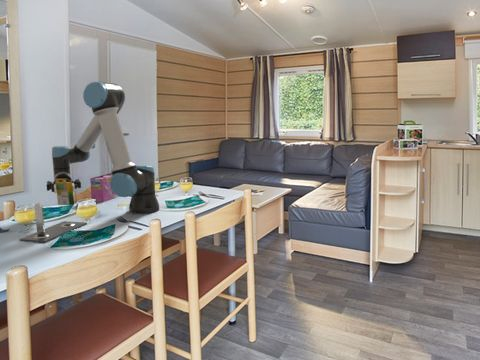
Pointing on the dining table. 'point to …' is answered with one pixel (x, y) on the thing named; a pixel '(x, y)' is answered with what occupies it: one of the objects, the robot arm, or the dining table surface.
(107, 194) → the gum box
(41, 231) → the post
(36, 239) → the plate
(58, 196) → the crayon box
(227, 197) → the dining table surface
